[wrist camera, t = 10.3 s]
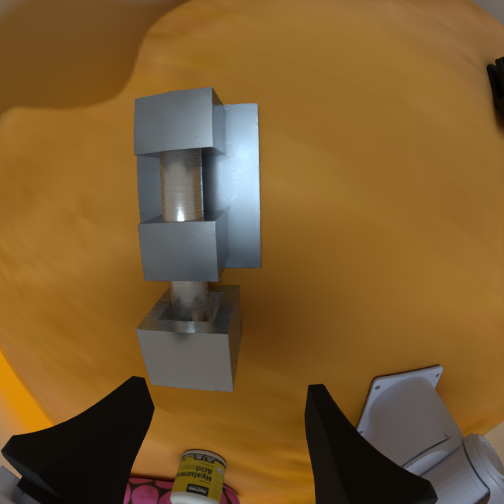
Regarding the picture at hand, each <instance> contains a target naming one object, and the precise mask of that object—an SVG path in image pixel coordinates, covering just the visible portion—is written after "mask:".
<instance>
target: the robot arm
mask: <svg viewBox="0 0 504 504" xmlns="http://www.w3.org/2000/svg"><path fill="white" fill-rule="evenodd" d="M442 371H443V368H442V366H436V367H431V368H427V369H422V370H418V371H413V372H408V373H402V374H397V375H391V376H385V377H379V378H376V379H375V380H374V381H373V383H372V386H371V389H370V393H369V396H368V399H367V402H366V405H365V408H364V410H363V413H362V416H361V419H360V421H359V424H358V427H357V429H355V427H354V426H353V425H352V424H351V423H350V422H349V420H348V419H347V418H346V417H345V415H344V414H343V413H342V411H341V410H340V409H339V407H338V406H337V404H336V403H335V401H334V400H333V398H332V397H331V395H330V394H329V392H328V390H327V389H326V387H325V385H323V384H315V385H308V393H307V401H306V408H305V430H306V438H307V443H308V449H309V454H310V459H311V464H312V469H313V474H314V482H315V498H316V504H504V466H503V464H502V462H501V460H500V458H499V456H498V455H497V453H496V451H495V450H494V449H493V447H492V446H491V444H490V443H489V442H488V441H487V440H486V439H485V438H484V437H483V436H482V435H481V434H472V433H471V434H469V435H468V436H467V437H464V435H463V434H462V432H461V430H460V429H459V427H458V425H457V424H456V422H455V420H454V419H453V417H452V416H451V414H450V412H449V411H448V409H447V408H446V406H445V404H444V403H443V401H442V400H441V398H440V397H439V395H438V394H437V392H436V390H435V387H436V385H437V382H438V380H439V378H440V375H441V373H442ZM376 386H377V387H376ZM154 409H155V407H154V405H153V402H152V399H151V396H150V393H149V390H148V387H147V384H146V381H145V378H142V377H136V376H132V377H131V378H129V379H128V380H127V381H125V382H124V383H123V384H122V385H120V386H119V387H118V388H116V389H115V390H114V391H113V392H111V393H110V394H109V395H107V396H106V397H105V398H103V399H102V400H101V401H99V402H98V403H96V404H95V405H93V406H92V407H90V408H89V409H87V410H86V411H84V412H82V413H81V414H79V415H77V416H75V417H73V418H71V419H69V420H67V421H65V422H63V423H60V424H58V425H55V426H53V427H50V428H47V429H44V430H40V431H36V432H32V433H27V434H21V435H13V436H12V437H11V438H10V440H9V441H8V442H7V444H6V445H5V446H4V448H3V449H2V450H1V452H2V454H3V456H4V457H5V459H6V460H7V461H8V462H9V463H10V464H11V465H12V466H13V467H14V468H15V469H16V470H17V471H18V472H19V473H20V474H21V475H22V478H21V479H19V478H18V477H16V476H15V475H14V474H13V473H12V472H10V471H9V470H8V469H6V468H5V467H4V466H1V467H0V504H124V498H125V493H126V488H127V484H128V480H129V476H130V473H131V469H132V466H133V463H134V460H135V458H136V456H137V454H138V451H139V449H140V447H141V445H142V442H143V440H144V438H145V436H146V433H147V431H148V429H149V426H150V423H151V420H152V416H153V412H154Z"/></svg>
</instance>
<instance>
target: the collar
mask: <svg viewBox="0 0 504 504" xmlns="http://www.w3.org/2000/svg"><path fill="white" fill-rule="evenodd" d="M208 290H209V302H210V313H211V322H196V321H175V320H174V313H173V307H172V300H171V292H170V287H169V288H168V290H167V291H166V292H165V293H164V295H163V296H162V297H161V298H160V299H159V301H158V302H157V303H156V304H155V306H154V307H153V308H152V309H151V311H150V312H149V313H148V314H147V316H146V317H145V318H144V319H143V321H142V322H141V323H140V324H139V326H138V327H137V328H136V332H137V336H138V340H139V344H140V348H141V351H142V355H143V358H144V362H145V365H146V369H147V372H148V375H149V379H150V382H151V384H152V385H160V386H168V387H176V388H186V389H197V390H212V391H232V392H233V390H234V383H235V376H236V370H237V363H238V356H239V349H240V343H241V336H242V329H241V311H240V292H239V285H208Z"/></svg>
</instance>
